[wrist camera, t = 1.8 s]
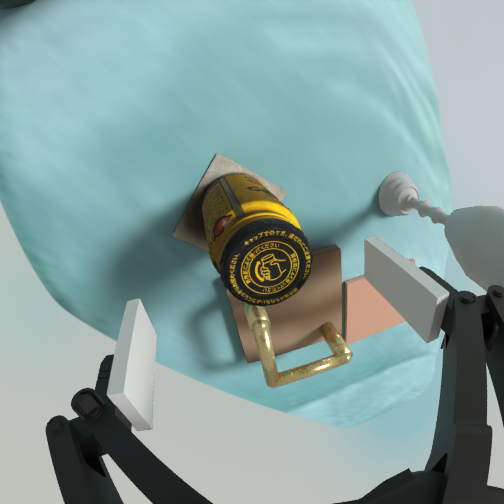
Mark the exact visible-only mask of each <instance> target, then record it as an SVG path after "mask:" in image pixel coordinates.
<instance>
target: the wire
mask: <svg viewBox="0 0 504 504" xmlns="http://www.w3.org/2000/svg"><path fill="white" fill-rule="evenodd" d="M242 305H243V308H244V311H245V314H246V318H247V321H248V324H249V327H250V330H251V331H252V332H253V333H254V337H255V341H256V345H257V349H258V353H259V357H260V361H261V365H262V369H263V373H264V377H265V380H266V384H267V385H268V386H269V387H271V388H275V387H278V386H282V385H285V384H288V383H292V382H295V381H298V380H301V379H304V378H307V377H310V376H313V375H316V374H319V373H322V372H325V371H328V370H331V369H333V368H336V367H339V366H341V365H344V364H347V363H349V362H350V360H351V357H352V352H351V350H350V349H349V347H348V346H347V344H346V343H345V341H344V340H343V338H342V336H341V335H340V333H339V332H338V330H337V329H336V327H335V326H334V324H333V323H332V322H326V323H324V324H323V325H322V326H321V327H320V332H321V334H322V336H323V337H324V339H325V341H326V343H327V344H328V346H329V348H330V349H331V351H332V353H333V355H332V356H329V357H326V358H323V359H320V360H317V361H314V362H311V363H308V364H305V365H302V366H299V367H296V368H293V369H289V370H286V371H283V372H280V373H278V370H277V365H276V360H275V355H274V350H273V345H272V340H271V335H270V330H269V328H270V324H271V323H270V320H269V318H268V315H267V313H266V310H265V308H264V306H261V307H260V306H254V305H249V304H247V303H245V302H242Z"/></svg>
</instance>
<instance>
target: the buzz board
mask: <svg viewBox="0 0 504 504" xmlns="http://www.w3.org/2000/svg"><path fill="white" fill-rule="evenodd" d="M312 254H313V261H312V265H311V272H310V275H309V277H308V279H307V280H306V282H305V284H304V285H303V286H302V287H301V289H300V290H299V291H298V292H297V293H296V294H295V295H293V296H291V297H290V298H288V299H286V300H285V301H283V302H281V303H278V304H274V305H269V306H264V308H265V310H266V313H267V315H268V318H269V320H270V323H271V324H270V328H269V330H270V335H271V340H272V345H273V350H274V355H275V356H277V355H280V354H283V353H287V352H290V351H293V350H296V349H300V348H303V347H306V346H309V345H312V344H315V343H318V342H321V341H324V340H325V339H324V337H323V336H322V334H321V332H320V327H321V326H322V325H323V324H324V323H326V322H332V323H333V324H334V326H335V327H336V329H337V330H338V332H339V333H340V335H341V334H342V276H341V249H340V248H339V247H338V246H337V245H336V244H335V245H332V246H328V247H324V248H321V249H317V250H313V251H312ZM226 290H227V294H228V297H229V301H230V304H231V308H232V311H233V315H234V318H235V322H236V325H237V329H238V332H239V336H240V339H241V342H242V346H243V349H244V352H245V356H246V359H247V362H248V363H252V362H255V361H259V360H260V357H259V353H258V349H257V345H256V341H255V337H254V333H253V332H252V331H251V330H250V327H249V324H248V321H247V318H246V314H245V311H244V308H243V305H242V301H240V300H238V299H237V298H235V297H234V296H233V295H232V294H231V293H230V292H229V290H228V289H226Z"/></svg>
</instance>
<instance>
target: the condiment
mask: <svg viewBox="0 0 504 504" xmlns="http://www.w3.org/2000/svg"><path fill="white" fill-rule="evenodd" d="M286 194H287V192H286V191H284V190H283V189H281V188H279V187H278V186H276V185H274V184H273V183H271V182H269V181H268V180H266V179H264V178H262V177H261V176H259V175H257V174H256V173H254V172H252V171H250V170H249V169H247V168H245V167H243V166H241V165H240V164H238V163H236V162H234V161H232V160H230V159H229V158H227V157H225V156H223V155H221V154H220V153H217V155H216V156H215V158H214V160H213V162H212V163H211V165H210V167H209V168H208V170H207V172H206V174H205V176H204V177H203V179H202V181H201V182H200V184H199V186H198V188H197V190H196V191H195V193H194V195H193V197H192V199H191V201H190V203H189V205H188V206H187V208H186V210H185V212H184V214H183V216H182V217H181V219H180V221H179V223H178V226H177V227H176V229H175V231H174V233H173V235H172V237H175V238H177V239H179V240H182V241H184V242H186V243H189V244H191V245H193V246H196V247H198V248H200V249H203V250H205V251H207V252H209V254H210V258H211V260H212V263H213V265H214V267H215V268H216V270H217V271H218V273H219V274H220V275H221V279H222V281H223V283H224V286H225V287H226V289H228V290H229V292H230V293H231V294H232V295H233V296H234V297H235V298H237V299H238V300H240V301H242V302H245V303H247V304H249V305H254V306H260V307H261V306H269V305H274V304H278V303H281V302H283V301H285V300H286V299H288V298H290V297H291V296H293V295H295V294H296V293H297V292H298V291H299V290H300V289H301V287H302V286H303V285H304V284H305V282H306V280H307V279H308V277H309V275H310V272H311V265H312V261H313V254H312V250H311V247H310V245H309V242H308V240H307V238H306V237H305V236H304V234H303V232H302V231H301V228H300V225H299V223H298V221H297V219H296V217H295V216H294V215H293V214H292V212H291V211H290V209H289V208H287V207H286V206H284V205H283V203H281V201H282V199H283V198H284V196H285V195H286ZM199 212H201V213H199Z"/></svg>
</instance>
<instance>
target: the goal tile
mask: <svg viewBox="0 0 504 504" xmlns="http://www.w3.org/2000/svg"><path fill="white" fill-rule="evenodd" d="M409 261H410V262H412V263H413V264H414V265H415V260H414V259H413V258H412V259H409ZM404 321H406V320H405V319H404V318H403V317H402V316H401V315H400V314H399V313H398V312H397V311H396V310H395V309H394V308H393V307H392V305H391V304H390V303H389V302H388V301H387V300H386V299H385V298H384V297H383V296H382V295H381V294H380V293H379V292H378V291H377V290H376V289H375V288H374V287H373V286H372V285H371V284H370V283H369V282H368V281H367V280H366V279H365V278H364V275H363V276H360V277H356V278H353V279H350V280H347V281H345V340H344V341H345V343H346V344H350V343H353V342H355V341H358V340H360V339H363V338H365V337H368V336H371V335H373V334H376V333H378V332H380V331H383V330H385V329H388V328H390V327H392V326H395V325H397V324H399V323H402V322H404Z"/></svg>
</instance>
